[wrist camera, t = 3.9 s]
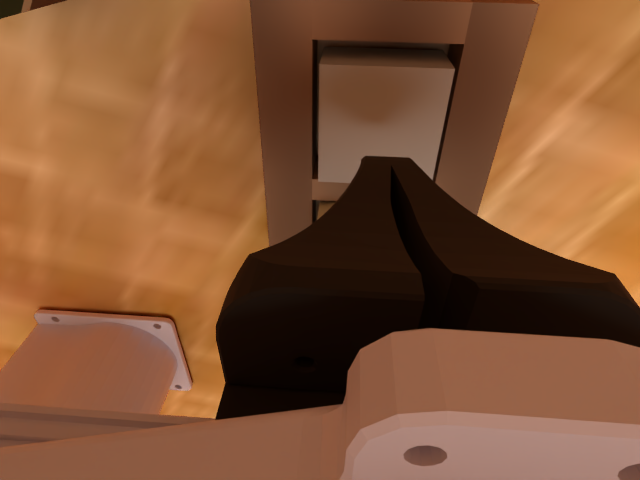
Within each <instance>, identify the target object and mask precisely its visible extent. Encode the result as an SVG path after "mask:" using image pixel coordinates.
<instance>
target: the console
mask: <svg viewBox="0 0 640 480" xmlns="http://www.w3.org/2000/svg"><path fill="white" fill-rule="evenodd" d="M538 6H539V4H538V3H536V2H534V1H532V0H250V7H251V20H252V32H253V45H254V57H255V70H256V82H257V95H258V107H259V120H260V133H261V145H262V158H263V170H264V183H265V195H266V208H267V220H268V233H269V246H273V245H275V244H278V243H280V242H282V241H284V240H286V239H288V238H290V237H292V236H294V235H296V234H297V233H299V232H301V231H303V230H304V229H306V228H307V227H309V226H310V225H311V224H313V223H314V222H315V221H316V220H317V217H318V210H319V203H320V201H327V202H336V201H337V200H338V199H339V198H340V196H341V195H342V194H343V193H344V191H345V190H346V189H347V187H348V186H349V184H350V183H338V182H318V149H319V64H320V60H321V57H322V53H323V49H324V47H352V48H384V49H416V50H443V51H444V52H445V54H446V56H447V57H448V59H449V60H450V62H451V63H452V65H453V67H454V68H455V71H454V76H453V81H452V86H451V91H450V96H449V101H448V106H447V111H446V116H445V121H444V126H443V131H442V135H441V140H440V145H439V150H438V155H437V160H436V165H435V170H434V175H433V181H434V182H435V183H436V184H437V185H438V186H439V187H440V188H442V189H443V190H444V191H445V192H446V193H447V194H448V195H450V196H451V197H452V198H453V199H455V200H456V201H457V202H458V203H460V204H461V205H462V206H464V207H465V208H466V209H468V210H469V211H470V212H472V213H473V214H475V215H477V213H478V210H479V206H480V203H481V200H482V196H483V193H484V189H485V186H486V183H487V179H488V176H489V172H490V169H491V166H492V162H493V159H494V156H495V152H496V149H497V145H498V142H499V139H500V135H501V132H502V128H503V125H504V122H505V118H506V115H507V111H508V108H509V105H510V101H511V98H512V95H513V91H514V88H515V84H516V81H517V78H518V74H519V71H520V67H521V64H522V61H523V57H524V54H525V50H526V47H527V44H528V40H529V37H530V34H531V30H532V27H533V23H534V20H535V17H536V13H537V10H538Z"/></svg>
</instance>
